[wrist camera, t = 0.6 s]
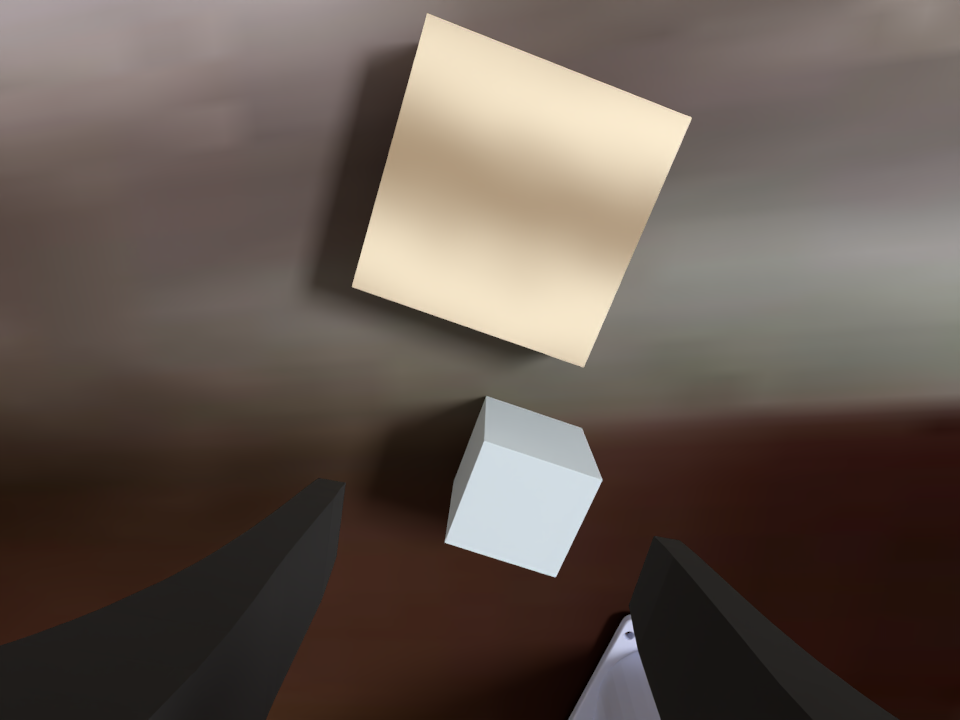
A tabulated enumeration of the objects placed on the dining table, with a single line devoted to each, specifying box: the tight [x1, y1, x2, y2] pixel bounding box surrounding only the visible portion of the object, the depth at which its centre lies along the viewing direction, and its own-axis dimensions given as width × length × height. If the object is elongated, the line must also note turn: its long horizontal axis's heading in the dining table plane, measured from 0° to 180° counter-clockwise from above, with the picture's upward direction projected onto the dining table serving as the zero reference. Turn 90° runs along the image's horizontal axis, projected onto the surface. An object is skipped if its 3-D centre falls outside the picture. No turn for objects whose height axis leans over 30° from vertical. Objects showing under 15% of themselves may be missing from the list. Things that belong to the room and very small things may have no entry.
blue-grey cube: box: [445, 396, 602, 577], centre depth 21 cm, size 4×4×4 cm
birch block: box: [352, 13, 692, 367], centre depth 19 cm, size 9×9×3 cm
